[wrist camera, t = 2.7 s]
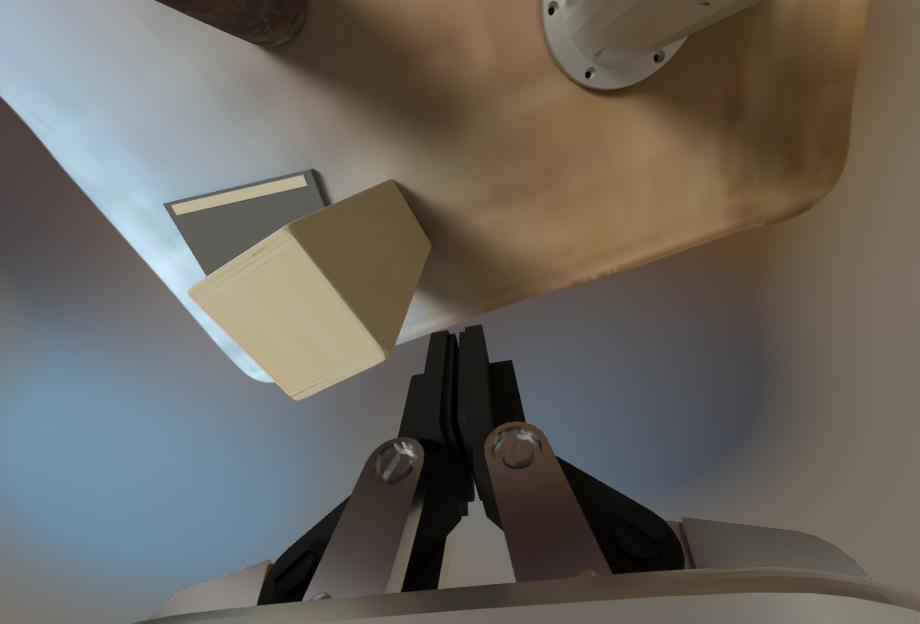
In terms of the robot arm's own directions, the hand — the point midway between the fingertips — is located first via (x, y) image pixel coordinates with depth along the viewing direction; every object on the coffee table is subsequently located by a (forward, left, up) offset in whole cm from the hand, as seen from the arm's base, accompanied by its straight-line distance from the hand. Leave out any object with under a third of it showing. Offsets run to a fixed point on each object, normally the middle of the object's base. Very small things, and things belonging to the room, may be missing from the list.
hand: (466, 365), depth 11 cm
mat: (+22, 0, -26) cm, 34 cm away
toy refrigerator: (+9, 0, -26) cm, 27 cm away
